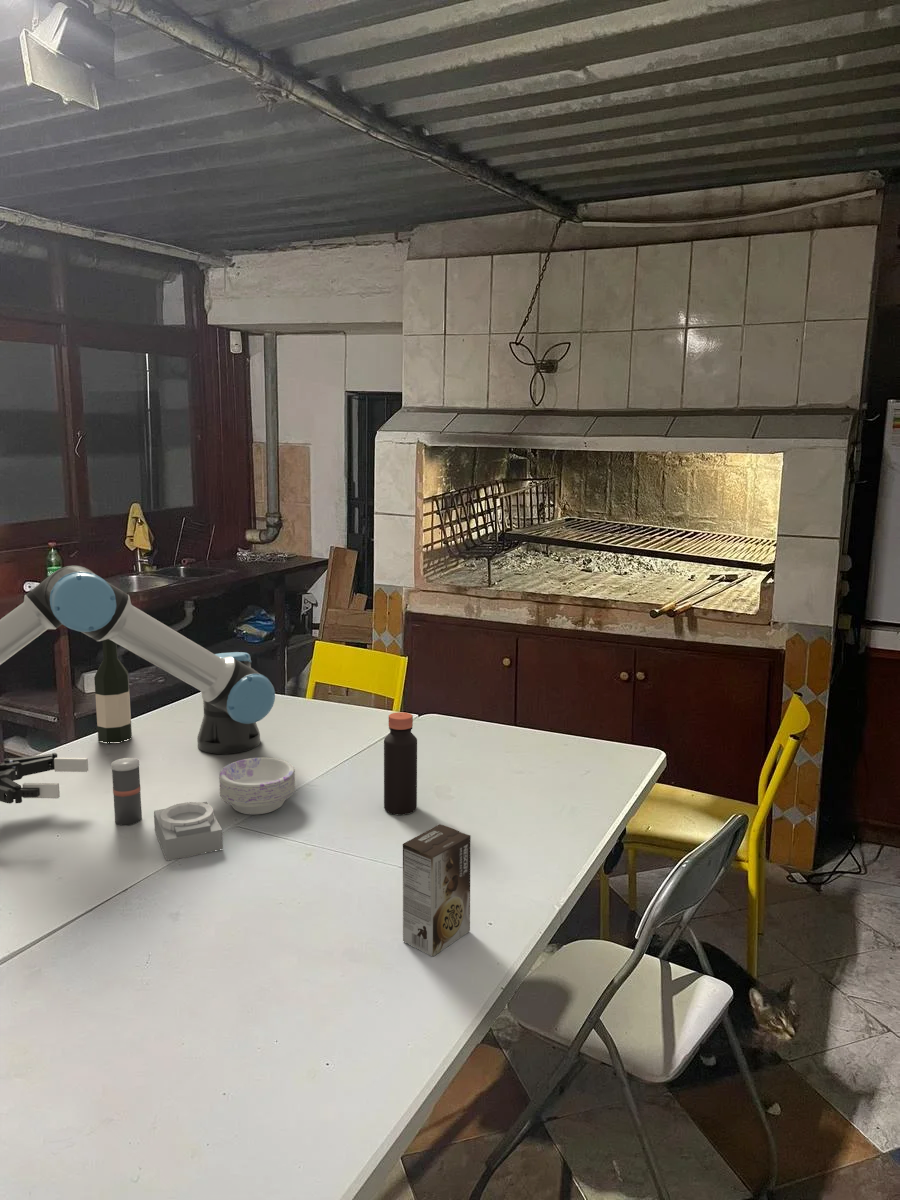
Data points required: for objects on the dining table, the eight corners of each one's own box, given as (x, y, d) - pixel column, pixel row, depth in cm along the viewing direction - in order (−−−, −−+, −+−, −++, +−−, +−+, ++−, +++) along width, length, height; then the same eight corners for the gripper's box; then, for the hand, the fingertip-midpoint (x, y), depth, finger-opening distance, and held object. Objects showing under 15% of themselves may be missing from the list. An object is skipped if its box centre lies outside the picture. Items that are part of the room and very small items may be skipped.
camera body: (207, 820, 173) (206, 794, 172) (222, 849, 161) (221, 821, 160) (154, 830, 169) (153, 803, 168) (166, 860, 157) (165, 832, 156)
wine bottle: (138, 734, 224) (132, 619, 219) (123, 744, 216) (116, 626, 211) (107, 732, 225) (100, 618, 220) (91, 743, 217) (83, 625, 211)
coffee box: (439, 917, 139) (440, 822, 136) (471, 932, 135) (472, 834, 132) (400, 942, 132) (400, 842, 129) (433, 958, 128) (433, 855, 125)
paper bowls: (278, 824, 172) (277, 786, 171) (207, 817, 175) (205, 779, 174) (306, 794, 187) (305, 759, 185) (240, 788, 190) (238, 753, 188)
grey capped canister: (140, 812, 177) (137, 756, 175) (144, 822, 172) (140, 764, 170) (113, 817, 174) (109, 760, 172) (116, 827, 170) (112, 769, 168)
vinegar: (377, 811, 179) (377, 717, 175) (394, 799, 185) (395, 708, 181) (406, 818, 176) (406, 722, 172) (422, 806, 182) (423, 713, 178)
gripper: (-3, 770, 184) (98, 772, 184) (-71, 820, 159) (46, 822, 160) (-5, 736, 183) (96, 738, 183) (-75, 781, 158) (43, 783, 158)
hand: (73, 777), depth 171 cm, fingers open, 13 cm apart
